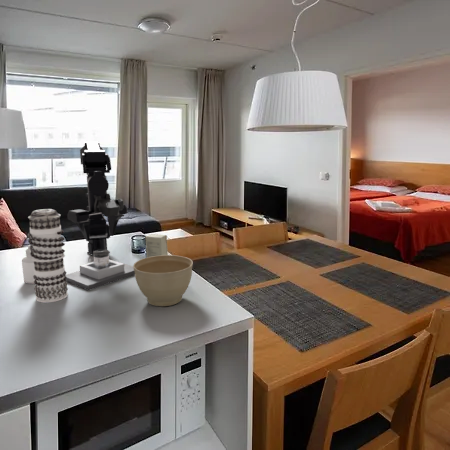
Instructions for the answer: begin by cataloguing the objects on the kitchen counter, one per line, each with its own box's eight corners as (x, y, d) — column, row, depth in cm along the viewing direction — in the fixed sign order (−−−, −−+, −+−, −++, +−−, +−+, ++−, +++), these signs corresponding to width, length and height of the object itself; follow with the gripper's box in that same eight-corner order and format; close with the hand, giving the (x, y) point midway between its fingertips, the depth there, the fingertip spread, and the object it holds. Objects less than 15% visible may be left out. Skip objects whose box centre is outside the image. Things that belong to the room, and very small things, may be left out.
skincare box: (168, 268, 132) (167, 234, 130) (162, 272, 128) (161, 237, 126) (152, 266, 134) (151, 233, 132) (146, 270, 130) (144, 236, 128)
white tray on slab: (114, 264, 136) (114, 254, 135) (140, 272, 128) (140, 261, 127) (62, 280, 121) (61, 268, 120) (88, 290, 112) (87, 277, 111)
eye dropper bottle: (29, 286, 115) (25, 248, 113) (22, 281, 119) (18, 244, 116) (44, 282, 118) (40, 245, 116) (37, 278, 122) (33, 242, 120)
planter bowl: (172, 285, 117) (171, 251, 115) (204, 301, 105) (204, 264, 103) (124, 298, 107) (122, 261, 104) (154, 318, 95) (153, 277, 92)
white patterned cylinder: (56, 288, 114) (48, 206, 108) (76, 294, 109) (69, 209, 104) (27, 298, 106) (17, 211, 101) (48, 305, 101) (39, 214, 96)
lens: (104, 268, 127) (102, 248, 126) (113, 271, 124) (111, 251, 123) (91, 272, 124) (90, 251, 122) (100, 275, 121) (98, 254, 119)
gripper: (85, 196, 107) (89, 248, 111) (137, 189, 122) (139, 236, 125) (64, 192, 114) (68, 242, 117) (115, 187, 128) (118, 231, 132)
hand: (100, 238), depth 123 cm, fingers open, 9 cm apart
